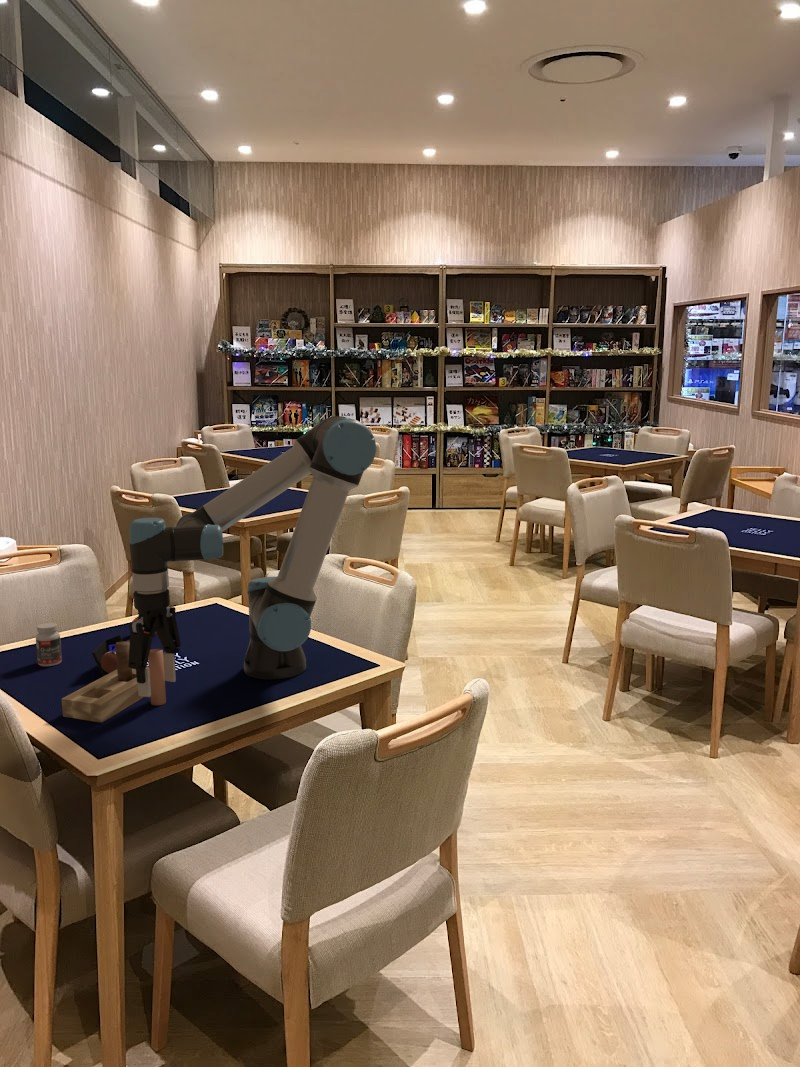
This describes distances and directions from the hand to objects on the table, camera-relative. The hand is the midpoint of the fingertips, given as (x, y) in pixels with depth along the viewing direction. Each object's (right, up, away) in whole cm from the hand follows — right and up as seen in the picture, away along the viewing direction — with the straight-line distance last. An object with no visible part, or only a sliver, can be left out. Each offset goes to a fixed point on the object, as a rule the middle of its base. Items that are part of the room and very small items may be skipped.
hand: (157, 688), depth 190 cm
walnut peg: (-9, -2, +6) cm, 11 cm away
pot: (-16, +6, +47) cm, 50 cm away
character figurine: (-16, +1, +21) cm, 27 cm away
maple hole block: (-10, -3, +1) cm, 11 cm away
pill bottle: (-34, +1, +26) cm, 43 cm away
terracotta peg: (0, -3, +1) cm, 3 cm away
